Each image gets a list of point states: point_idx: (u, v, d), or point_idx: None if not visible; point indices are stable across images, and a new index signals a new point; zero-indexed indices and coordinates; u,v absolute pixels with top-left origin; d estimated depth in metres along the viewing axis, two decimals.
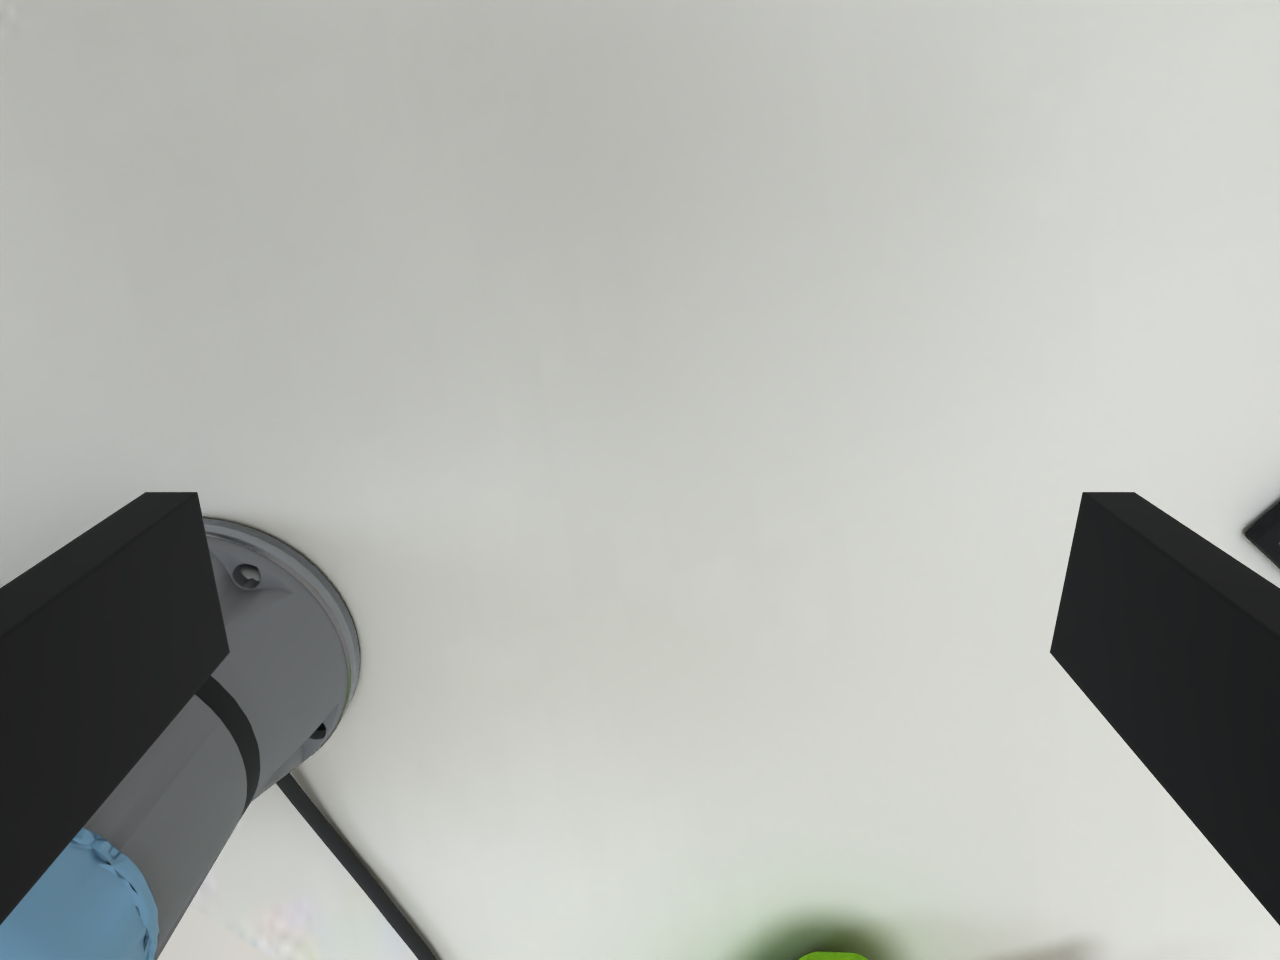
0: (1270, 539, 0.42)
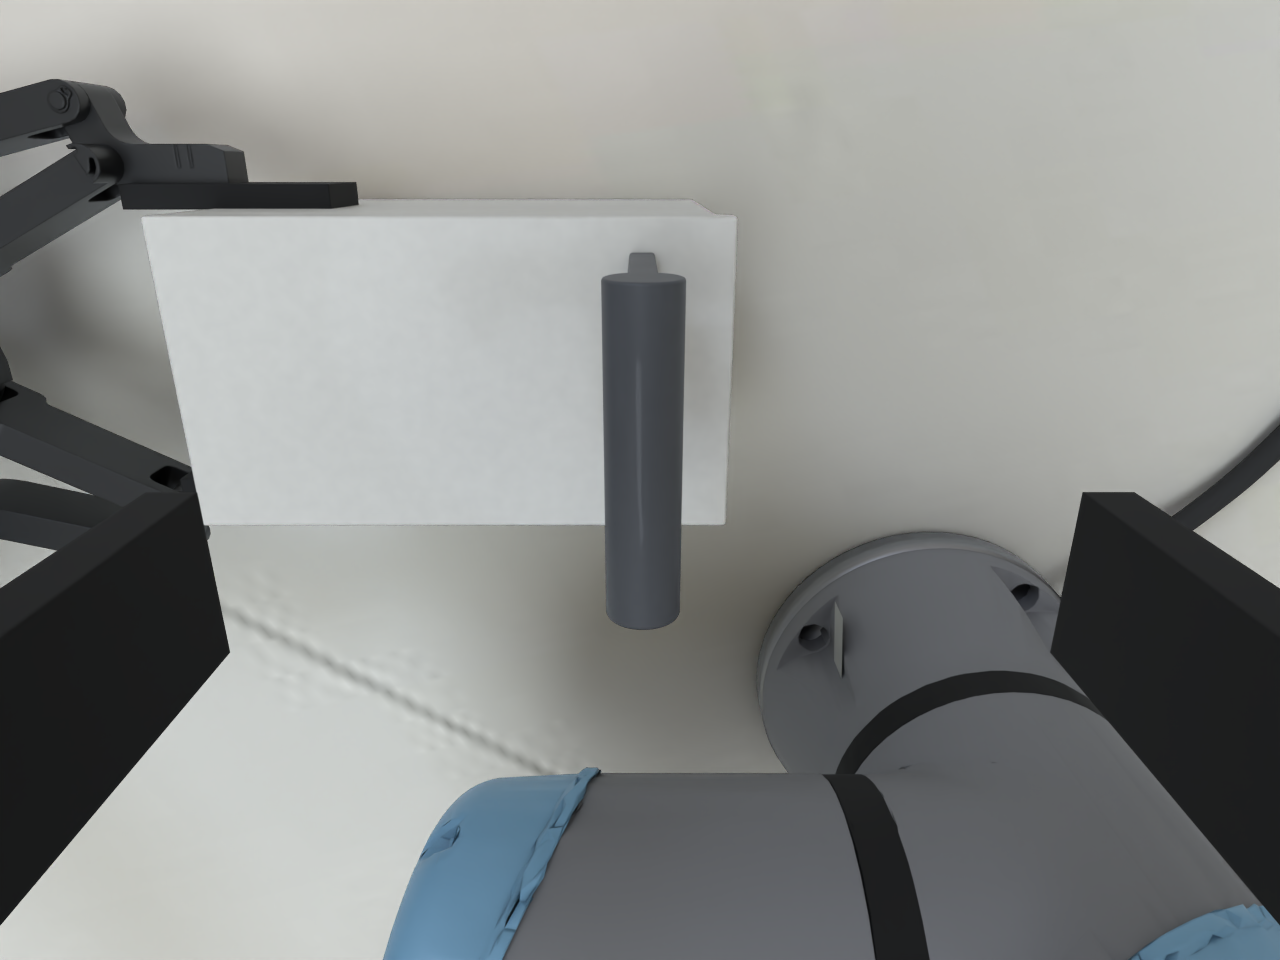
0: None
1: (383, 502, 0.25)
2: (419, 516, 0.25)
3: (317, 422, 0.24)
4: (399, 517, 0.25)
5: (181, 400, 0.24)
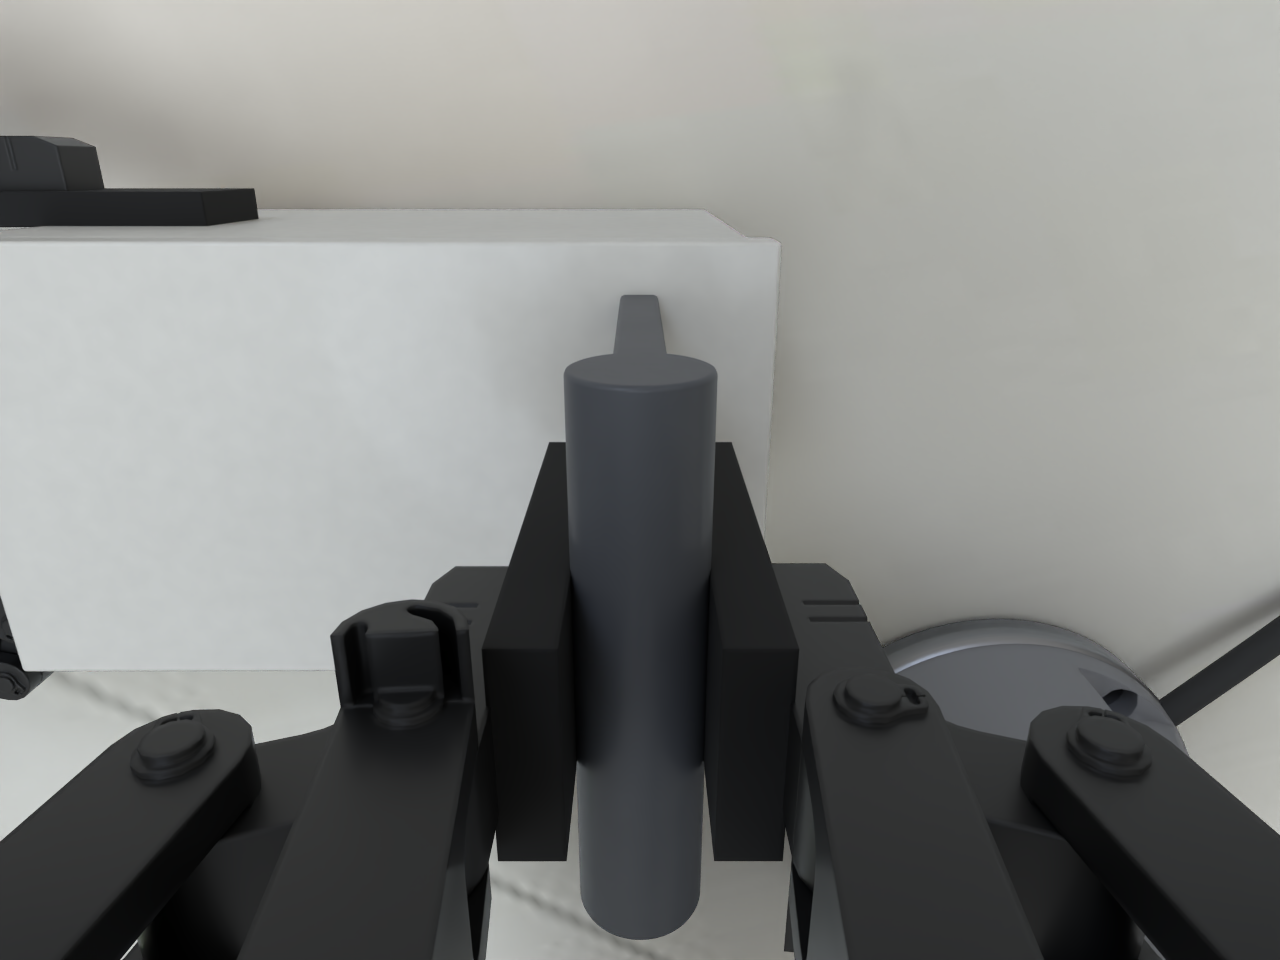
0: None
1: (274, 641, 0.18)
2: (326, 659, 0.18)
3: (174, 533, 0.17)
4: (298, 660, 0.18)
5: None
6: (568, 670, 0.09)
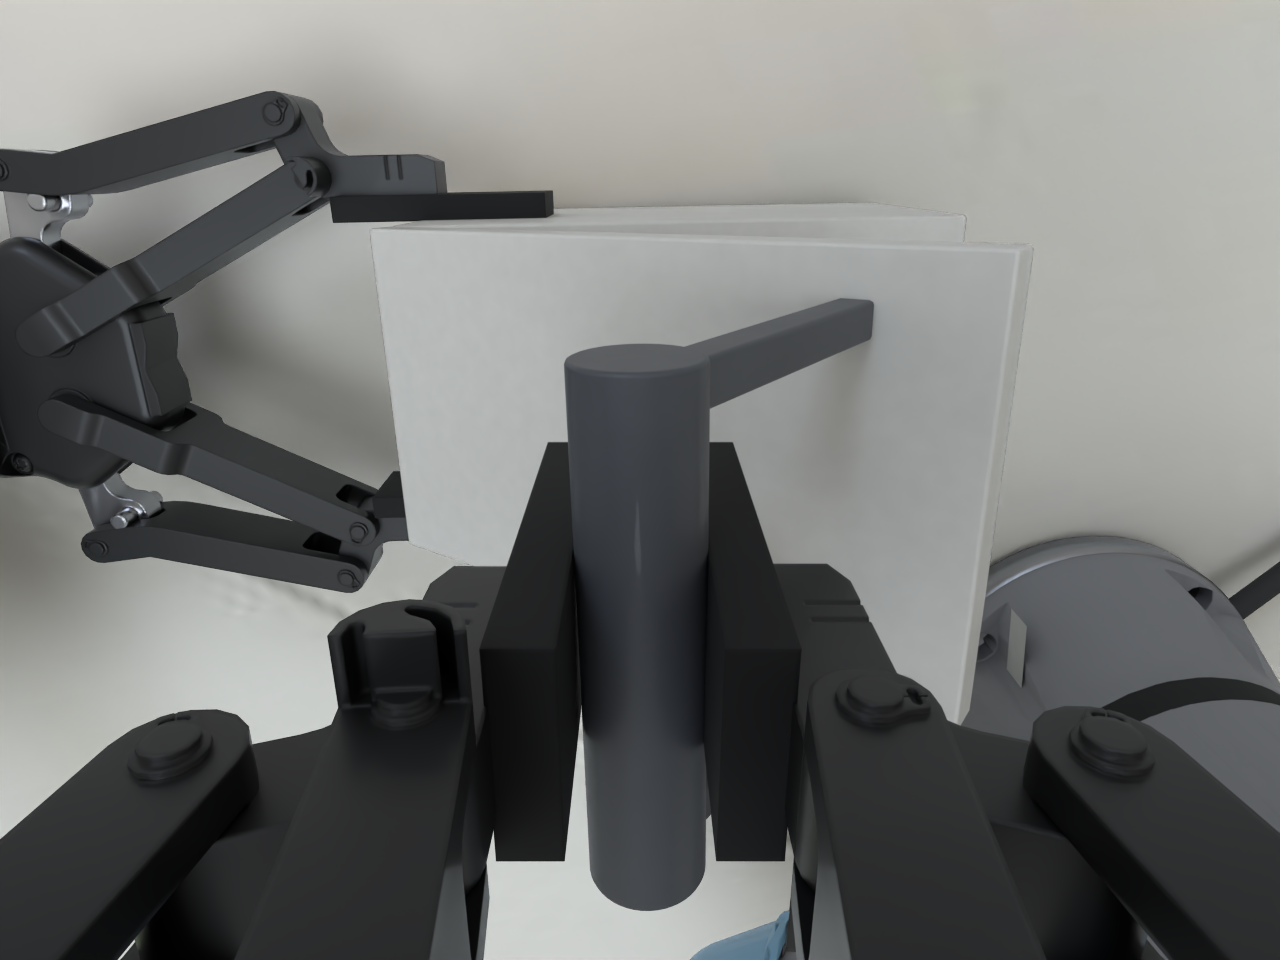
0: None
1: None
2: None
3: (493, 463, 0.21)
4: None
5: (394, 416, 0.23)
6: (566, 670, 0.09)
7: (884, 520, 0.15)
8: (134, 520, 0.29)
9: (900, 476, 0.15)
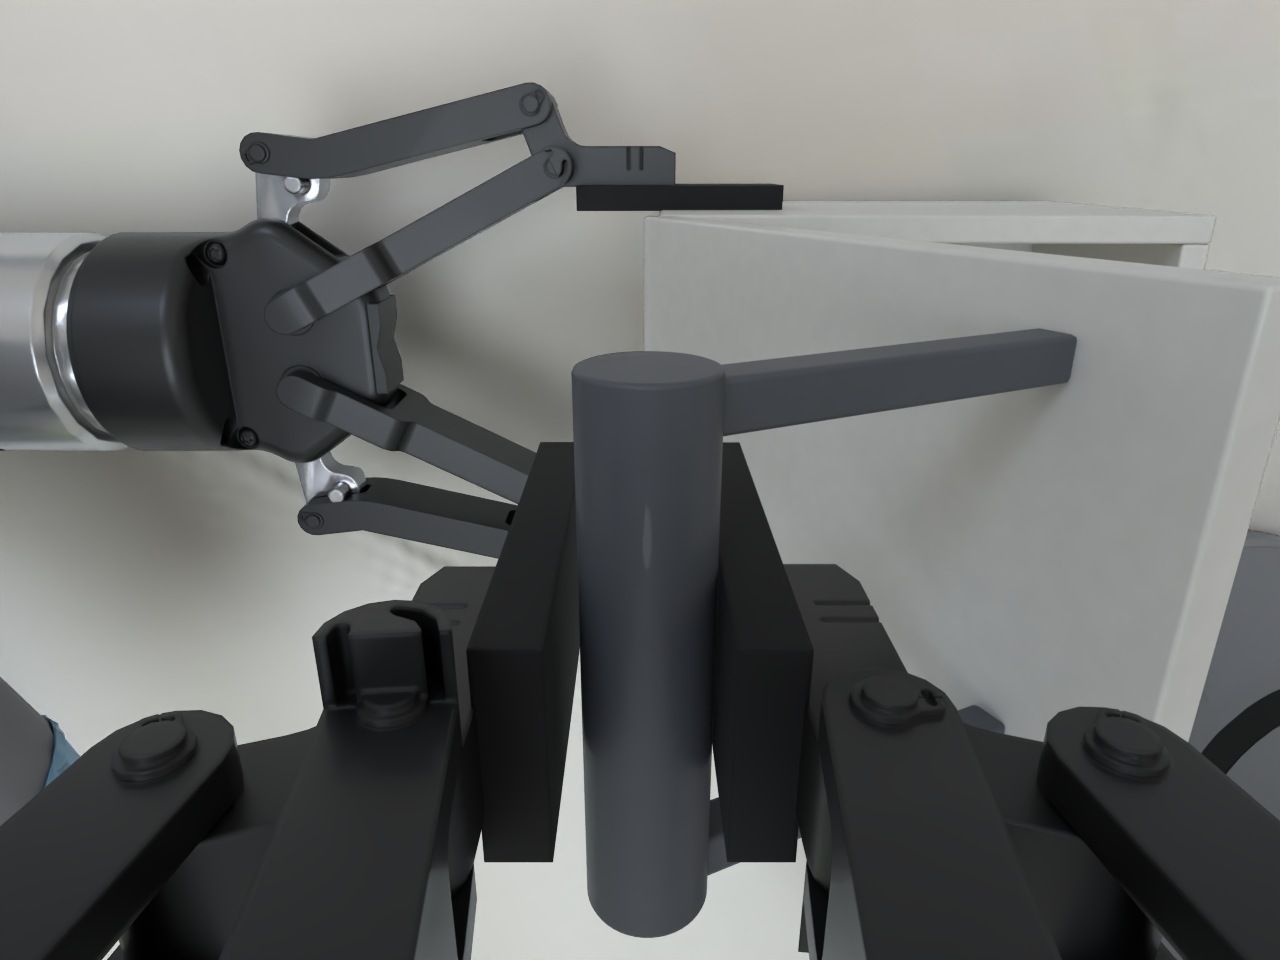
0: None
1: None
2: None
3: None
4: None
5: None
6: (555, 671, 0.09)
7: (1059, 606, 0.12)
8: (347, 494, 0.30)
9: (1084, 557, 0.12)
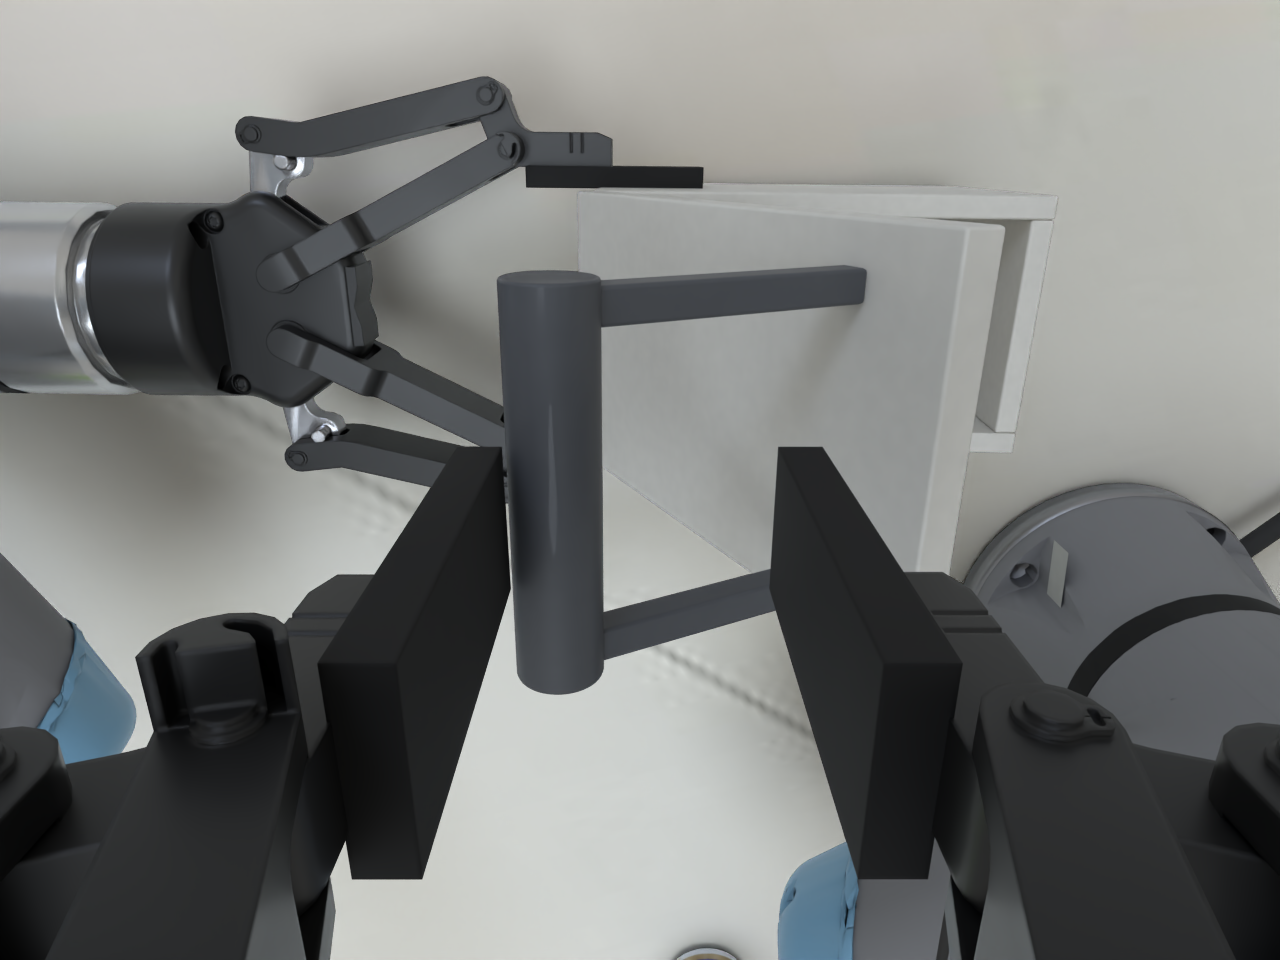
0: None
1: (656, 483, 0.25)
2: (673, 508, 0.25)
3: (631, 390, 0.26)
4: (663, 502, 0.25)
5: None
6: (428, 683, 0.09)
7: (864, 470, 0.17)
8: (329, 436, 0.35)
9: (877, 431, 0.17)
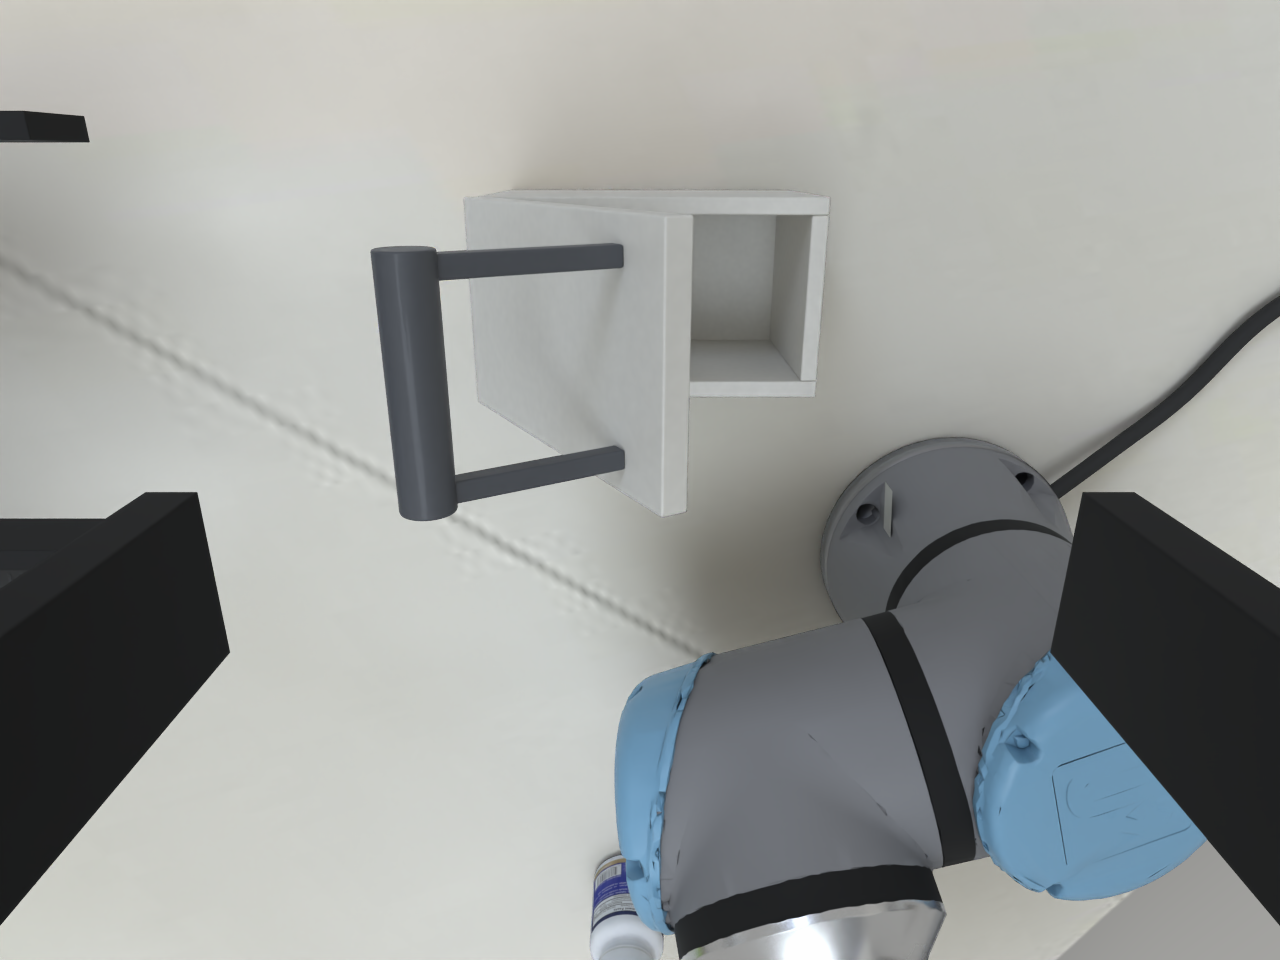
0: None
1: (525, 414, 0.34)
2: (536, 431, 0.33)
3: (506, 346, 0.34)
4: (530, 428, 0.34)
5: (472, 316, 0.37)
6: None
7: (632, 379, 0.26)
8: None
9: (636, 351, 0.25)
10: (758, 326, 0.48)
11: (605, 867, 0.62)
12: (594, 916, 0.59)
